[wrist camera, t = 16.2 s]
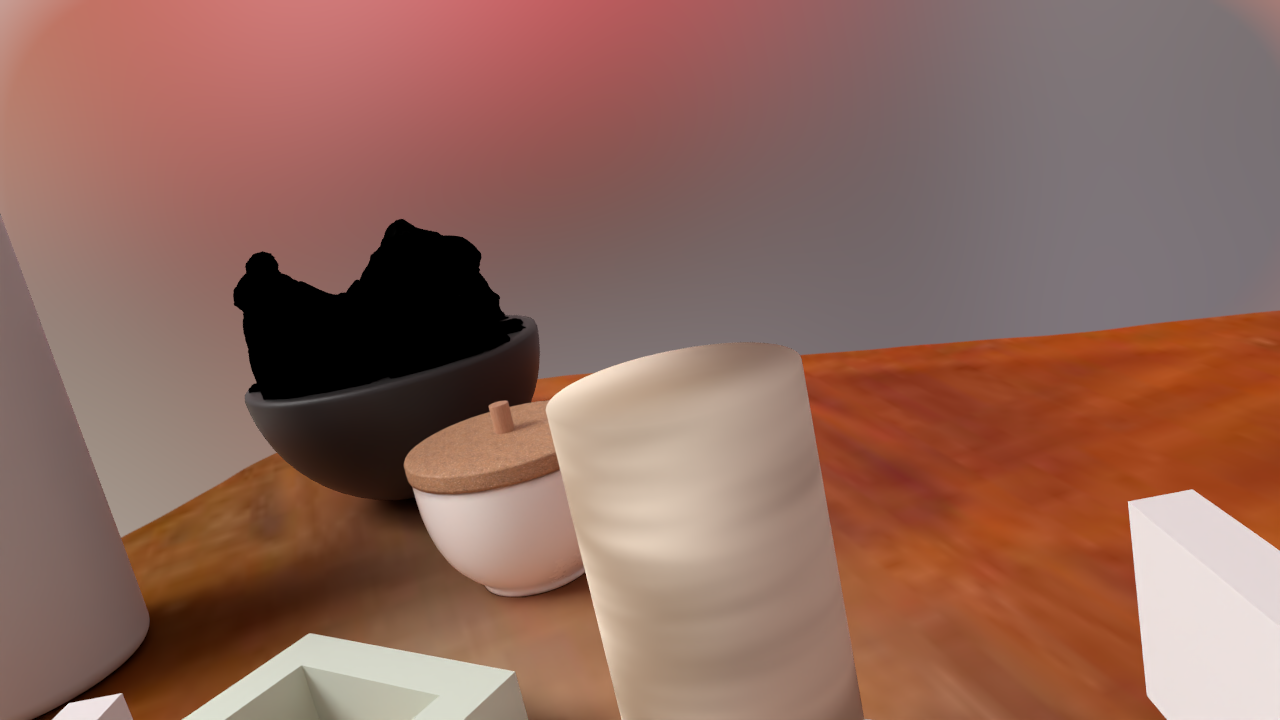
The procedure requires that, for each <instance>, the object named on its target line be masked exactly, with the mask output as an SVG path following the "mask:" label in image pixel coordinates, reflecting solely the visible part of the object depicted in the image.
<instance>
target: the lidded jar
mask: <svg viewBox="0 0 1280 720" xmlns="http://www.w3.org/2000/svg"><path fill="white" fill-rule="evenodd" d="M549 401H550V400H547V401H539V402H532V403H525V404H521V405H516V406H511V407H509V403H508V401H498V402H495V403H492V404H490V405H489V410H490V412H488V413H485V414H481V415H478V416H475V417H472V418H469V419H467V420H464V421H461V422H459V423H456V424H454V425H452V426H449V427H447V428H445V429H443V430H441V431H439V432H437V433H435V434H433V435H431V436H430V437H428V438H426V439H425V440H423V441H422V442H420V443H419V444H418V445H416V446H415V447H414V448H413V449H412V450H411V451H410V452H409V453H408V455H407V456H406V458H405V461H404V469H405V473H406V476H407V479H408V482H409V484H410V485H411V486H412V488H413V491H414V495H415V499H416V502H417V505H418V508H419V511H420V514H421V517H422V520H423V522H424V524H425V526H426V529H427V531H428V533H429V535H430V537H431V539H432V540H433V542H434V544H435V545H436V547H437V549H438V550H439V551H440V553H441V554H442V555H443V556H444V557H445V559H446V560H447V561H448V562H449V563H450V565H452V566H453V567H454V568H455V569H456V570H457V571H459V572H460V573H462V574H463V575H465V576H466V577H468V578H470V579H472V580H473V581H476V582H478V583H480V584H483V585H485V587H486V589H487V590H488V591H490V592H491V593H493V594H496V595H500V596H507V597H521V596H530V595H535V594H540V593H543V592H547V591H550V590H553V589H556V588H558V587H561V586H563V585H566V584H567V583H569V582H571V581H573V580H575V579H576V578H578V577H580V576H581V575H582V574H584V573H585V569H584V565H583V561H582V556H581V552H580V548H579V544H578V540H577V536H576V532H575V528H574V524H573V520H572V516H571V512H570V508H569V503H568V499H567V495H566V491H565V487H564V483H563V479H562V475H561V471H560V467H559V463H558V459H557V455H556V451H555V446H554V442H553V438H552V434H551V430H550V426H549V422H548V418H547V414H546V406H547V404H548V402H549Z"/></svg>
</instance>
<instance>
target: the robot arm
mask: <svg viewBox="0 0 1280 720" xmlns="http://www.w3.org/2000/svg"><path fill="white" fill-rule="evenodd" d="M1128 507H1129V517H1130V527H1131V537H1132V548H1133V558H1134V568H1135V578H1136V589H1137V599H1138V609H1139V619H1140V630H1141V640H1142V650H1143V660H1144V671H1145V681H1146V691H1147V696H1148V697H1149V699H1150V700H1151V701H1152V702H1153V703H1154V705H1155V706H1156V707H1157V708H1158V709H1159V711H1160V712H1161V713H1162V714H1163V715H1164V717H1165V718H1166V719H1167V720H1280V551H1279V550H1278V549H1277V548H1275V547H1274V546H1272V545H1271V544H1269V543H1268V542H1267V541H1265V540H1264V539H1262V538H1261V537H1259V536H1258V535H1257V534H1255V533H1254V532H1252V531H1251V530H1249V529H1248V528H1247V527H1245V526H1244V525H1242V524H1241V523H1239V522H1238V521H1237V520H1235V519H1234V518H1232V517H1231V516H1230V515H1228V514H1227V513H1225V512H1224V511H1222V510H1221V509H1220V508H1218V507H1217V506H1215V505H1214V504H1212V503H1211V502H1210V501H1208V500H1207V499H1205V498H1204V497H1202V496H1201V495H1200V494H1198V493H1197V492H1195V491H1194V490H1187V491H1181V492H1176V493H1171V494H1166V495H1160V496H1155V497H1150V498H1145V499H1139V500H1134V501H1129V502H1128ZM52 720H133V718H132V716H131V713H130V711H129V708H128V706H127V704H126V701H125V699H124V696H123V694H122V693H120V694H115V695H110V696H104V697H99V698H94V699H89V700H83V701H78V702H73V703H68V704H67V705H66V706H65V707H64V708H63V709H62V710H61V711H60V712H59V713H58V714H57V715H56V716H55V717H54V718H53V719H52Z"/></svg>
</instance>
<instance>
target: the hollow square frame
mask: <svg viewBox="0 0 1280 720" xmlns="http://www.w3.org/2000/svg"><path fill="white" fill-rule="evenodd" d="M182 720H528V717H527V713H526V710H525V706H524V702H523V699H522V695H521V691H520V688H519V684H518V680H517V676H516V673H515V671H509V670H504V669H499V668H493V667H488V666H483V665H477V664H472V663H467V662H461V661H456V660H451V659H445V658H440V657H435V656H429V655H424V654H419V653H413V652H408V651H403V650H397V649H392V648H386V647H381V646H376V645H370V644H365V643H360V642H354V641H349V640H344V639H338V638H333V637H328V636H322V635H317V634H312V633H309V634H307V635H306V636H304V637H303V638H301V639H300V640H298V641H297V642H296V643H294V644H293V645H291V646H290V647H288V648H287V649H285V650H284V651H282V652H281V653H279V654H278V655H276V656H275V657H274V658H272V659H271V660H269V661H268V662H266V663H265V664H263V665H262V666H260V667H259V668H257V669H256V670H254V671H253V672H251V673H250V674H249V675H247V676H246V677H244V678H243V679H241V680H240V681H238V682H237V683H235V684H234V685H232V686H231V687H229V688H228V689H227V690H225V691H224V692H222V693H221V694H219V695H218V696H216V697H215V698H213V699H212V700H210V701H209V702H207V703H206V704H204V705H203V706H202V707H200V708H199V709H197V710H196V711H194V712H193V713H191V714H190V715H188V716H187V717H185V718H184V719H182Z"/></svg>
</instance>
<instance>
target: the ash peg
mask: <svg viewBox="0 0 1280 720" xmlns="http://www.w3.org/2000/svg"><path fill="white" fill-rule="evenodd" d="M546 414H547V418H548V422H549V426H550V430H551V434H552V438H553V442H554V446H555V451H556V455H557V459H558V463H559V467H560V471H561V475H562V479H563V483H564V487H565V491H566V495H567V499H568V503H569V508H570V512H571V516H572V520H573V524H574V528H575V532H576V536H577V540H578V544H579V548H580V552H581V556H582V561H583V565H584V569H585V573H586V577H587V581H588V585H589V589H590V593H591V597H592V601H593V605H594V609H595V613H596V618H597V622H598V626H599V630H600V634H601V638H602V642H603V646H604V650H605V654H606V658H607V662H608V666H609V670H610V675H611V679H612V683H613V687H614V691H615V695H616V699H617V703H618V707H619V711H620V715H621V719H622V720H864V715H863V710H862V704H861V698H860V692H859V687H858V681H857V675H856V669H855V664H854V658H853V652H852V646H851V641H850V635H849V629H848V623H847V618H846V612H845V606H844V600H843V595H842V589H841V583H840V577H839V572H838V566H837V560H836V555H835V549H834V543H833V537H832V532H831V526H830V520H829V514H828V509H827V503H826V497H825V491H824V486H823V480H822V474H821V468H820V463H819V457H818V451H817V445H816V440H815V434H814V428H813V422H812V417H811V411H810V405H809V399H808V394H807V388H806V382H805V376H804V371H803V365H802V360H801V356H800V355H799V354H798V353H797V352H796V351H794V350H792V349H790V348H788V347H785V346H780V345H776V344H768V343H753V342H752V343H751V342H750V343H749V342H743V343H723V344H712V345H703V346H696V347H690V348H683V349H678V350H673V351H668V352H663V353H659V354H654V355H650V356H646V357H642V358H638V359H635V360H631V361H628V362H625V363H621V364H618V365H615V366H612V367H609V368H607V369H604V370H601V371H599V372H596V373H594V374H591V375H589V376H587V377H585V378H582V379H580V380H578V381H576V382H574V383H572V384H571V385H569V386H567V387H566V388H564V389H562V390H561V391H560V392H558V393H557V394H556V395H555V396H554V397H553V398H552V399H551V400H550V401H549V402H548V404H547V406H546Z"/></svg>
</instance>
